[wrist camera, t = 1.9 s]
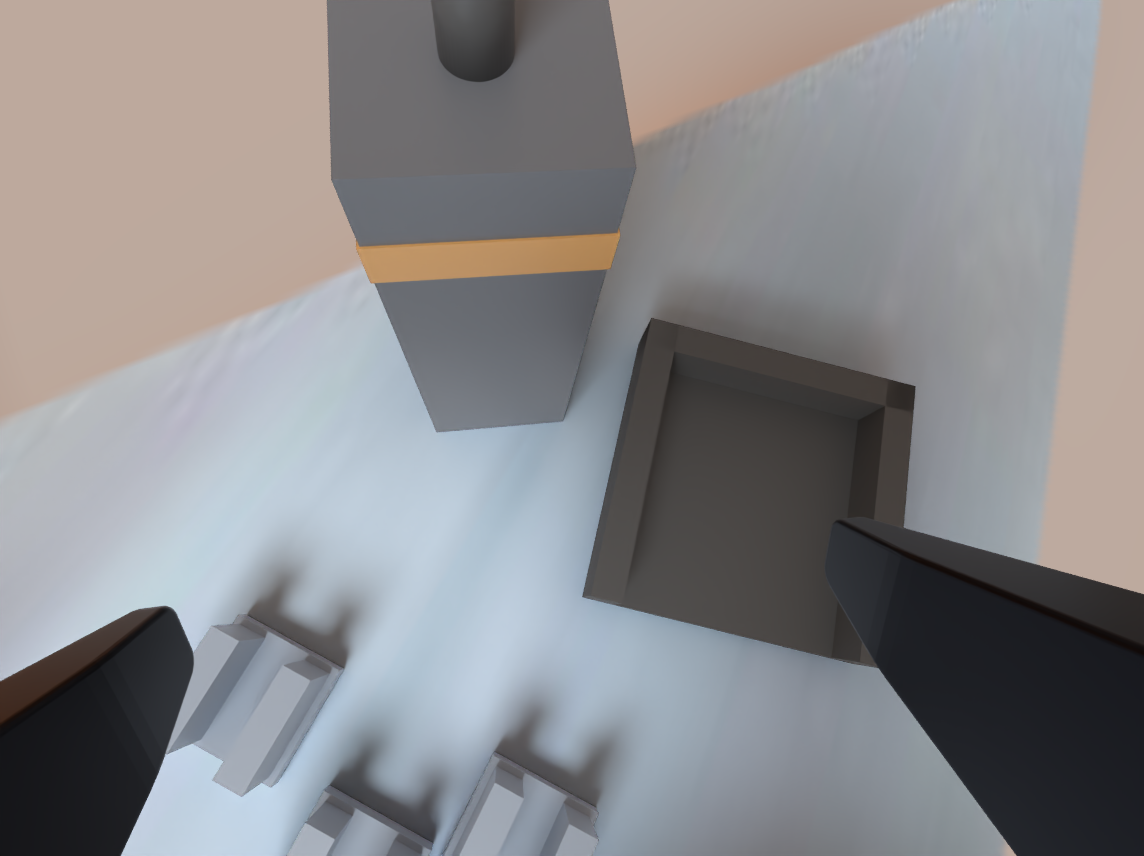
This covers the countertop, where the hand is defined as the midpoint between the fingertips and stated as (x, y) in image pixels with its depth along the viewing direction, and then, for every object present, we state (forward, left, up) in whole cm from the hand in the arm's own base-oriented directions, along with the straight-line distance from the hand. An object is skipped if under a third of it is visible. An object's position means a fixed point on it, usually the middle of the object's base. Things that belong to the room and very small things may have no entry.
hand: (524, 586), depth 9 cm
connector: (+7, +5, -13) cm, 15 cm away
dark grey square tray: (+7, -5, -13) cm, 16 cm away
